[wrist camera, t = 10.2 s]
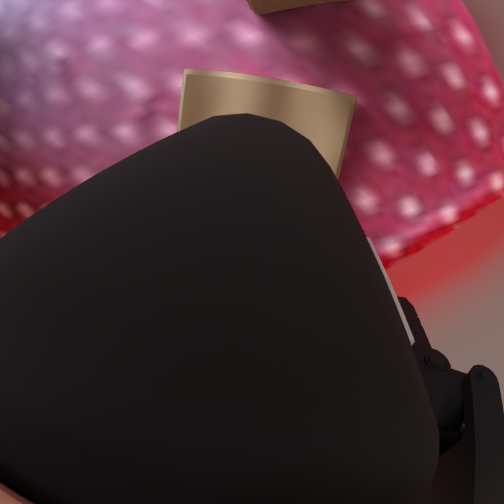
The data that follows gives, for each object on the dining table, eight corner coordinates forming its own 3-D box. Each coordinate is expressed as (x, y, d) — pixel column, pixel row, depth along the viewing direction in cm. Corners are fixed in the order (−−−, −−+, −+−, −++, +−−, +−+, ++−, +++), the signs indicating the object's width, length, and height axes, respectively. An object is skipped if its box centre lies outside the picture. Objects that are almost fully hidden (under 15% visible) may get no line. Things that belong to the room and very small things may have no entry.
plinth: (180, 209, 34) (168, 225, 31) (194, 70, 27) (181, 68, 24) (317, 233, 34) (320, 252, 31) (349, 95, 27) (358, 96, 23)
